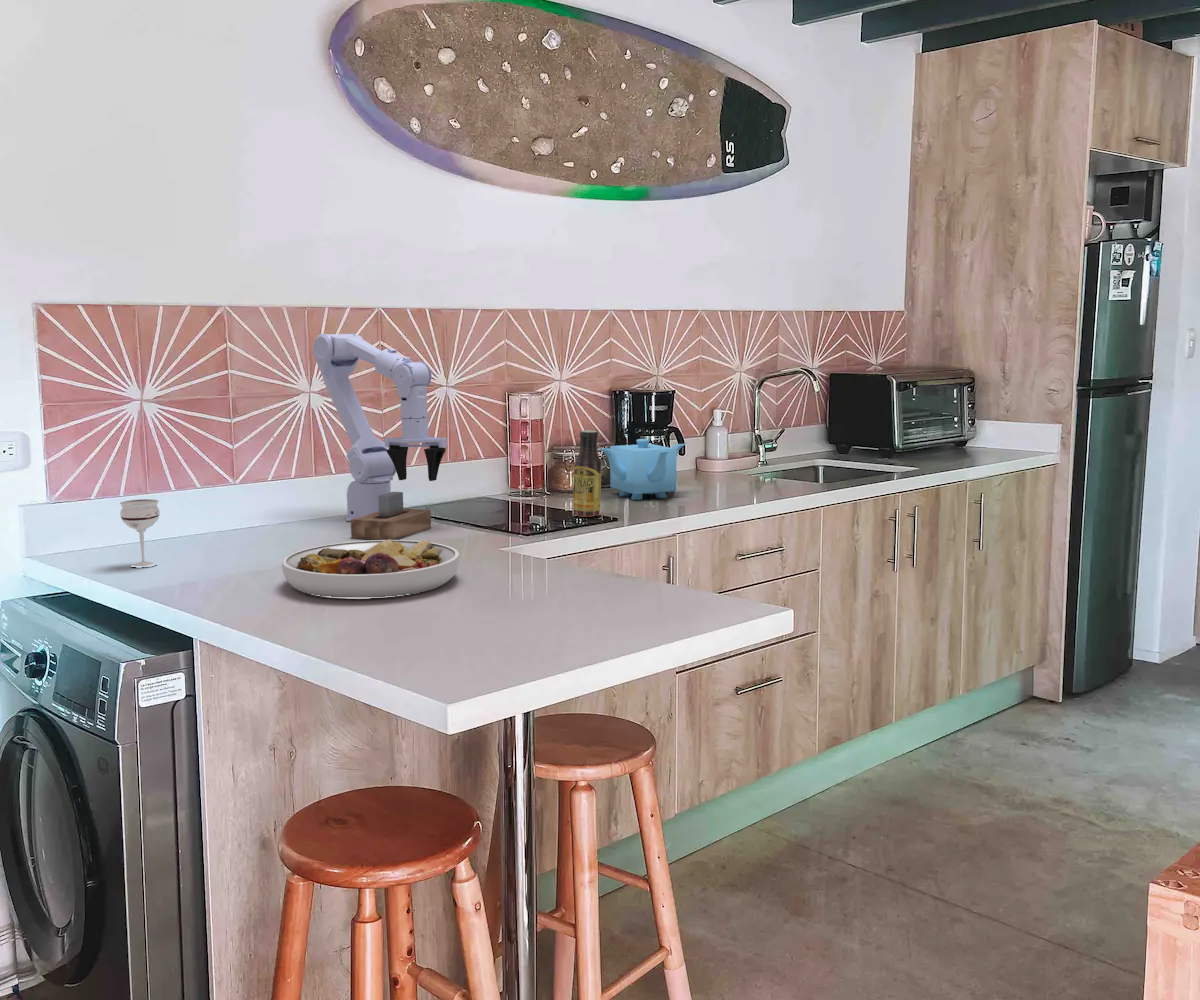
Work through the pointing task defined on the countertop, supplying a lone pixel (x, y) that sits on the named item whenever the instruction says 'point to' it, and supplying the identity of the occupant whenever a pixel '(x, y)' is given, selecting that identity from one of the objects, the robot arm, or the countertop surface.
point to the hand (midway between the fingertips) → (417, 480)
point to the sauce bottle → (587, 477)
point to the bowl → (371, 568)
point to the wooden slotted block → (390, 525)
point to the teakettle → (642, 468)
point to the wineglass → (140, 519)
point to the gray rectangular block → (390, 505)
